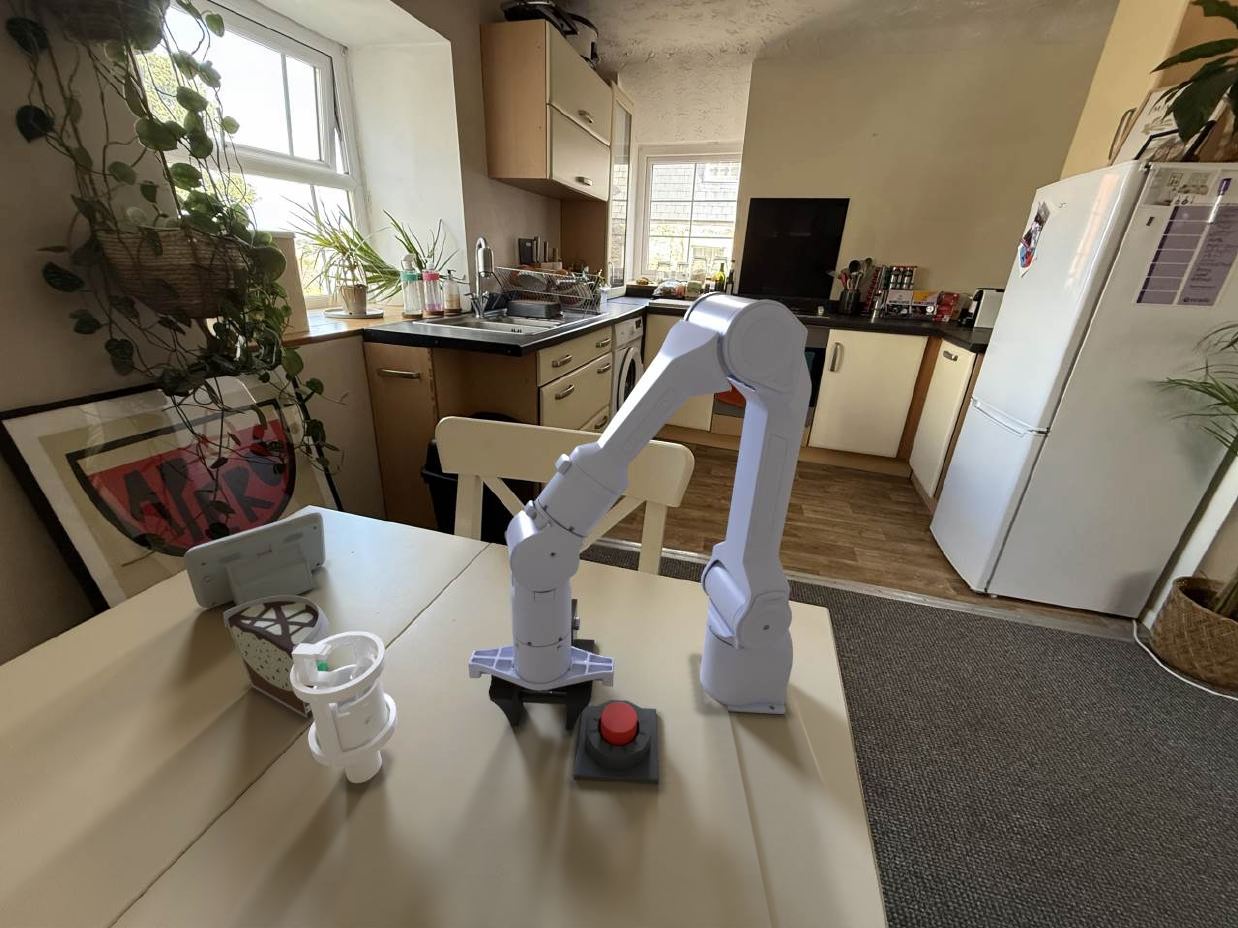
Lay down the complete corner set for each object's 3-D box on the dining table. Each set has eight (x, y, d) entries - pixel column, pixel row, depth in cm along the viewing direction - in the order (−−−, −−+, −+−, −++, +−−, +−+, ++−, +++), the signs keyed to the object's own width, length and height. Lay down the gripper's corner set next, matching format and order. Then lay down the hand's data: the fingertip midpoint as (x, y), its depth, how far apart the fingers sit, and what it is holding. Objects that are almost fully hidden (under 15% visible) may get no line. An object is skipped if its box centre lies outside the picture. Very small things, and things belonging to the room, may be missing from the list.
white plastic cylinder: (348, 736, 51) (319, 619, 45) (417, 740, 50) (396, 622, 45) (306, 807, 44) (266, 680, 38) (384, 811, 44) (356, 684, 38)
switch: (568, 707, 53) (566, 702, 51) (521, 704, 53) (518, 699, 51) (577, 615, 59) (576, 608, 57) (535, 613, 59) (532, 605, 57)
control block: (655, 716, 54) (657, 695, 53) (658, 788, 47) (660, 766, 46) (582, 712, 54) (582, 691, 53) (574, 783, 47) (574, 761, 46)
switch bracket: (588, 697, 56) (589, 636, 53) (509, 693, 56) (505, 632, 53) (594, 646, 64) (595, 590, 60) (524, 642, 64) (521, 586, 60)
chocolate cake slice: (367, 682, 57) (352, 612, 53) (317, 723, 52) (296, 649, 48) (296, 647, 62) (277, 580, 58) (244, 681, 56) (219, 611, 53)
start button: (636, 715, 51) (637, 702, 51) (636, 746, 48) (637, 733, 47) (601, 713, 51) (602, 700, 51) (599, 744, 48) (599, 731, 47)
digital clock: (329, 558, 79) (316, 499, 75) (340, 587, 73) (326, 524, 69) (200, 594, 70) (177, 529, 66) (199, 631, 64) (173, 561, 59)
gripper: (617, 603, 52) (612, 699, 57) (480, 595, 52) (487, 692, 57) (614, 653, 45) (609, 756, 51) (457, 643, 46) (468, 747, 51)
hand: (543, 726), depth 53 cm, fingers open, 5 cm apart
